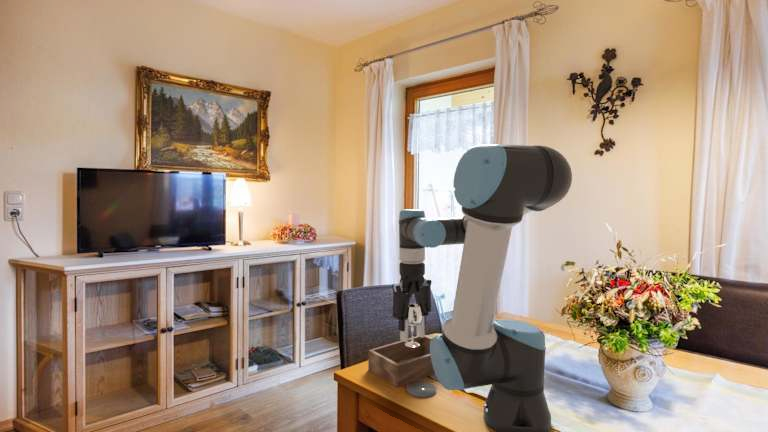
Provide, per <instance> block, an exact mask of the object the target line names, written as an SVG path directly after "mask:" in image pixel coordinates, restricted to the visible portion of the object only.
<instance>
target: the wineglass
mask: <svg viewBox="0 0 768 432" xmlns="http://www.w3.org/2000/svg"><path fill="white" fill-rule="evenodd" d="M406 320H408V327H410V332H411V338H412V340H411V342H407V343H405V346H407V347H418V346H420V344H419V343H417V342H414V341H413V337H414V331H415V327H417V325H419V324H420V323H421V321H422V311H421V307H420V304H417V303H416V302H409V306H408V311H407V315H406Z"/></svg>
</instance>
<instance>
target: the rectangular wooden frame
mask: <svg viewBox="0 0 768 432" xmlns="http://www.w3.org/2000/svg"><path fill="white" fill-rule="evenodd" d="M432 338H433V337H431V336H428V335H426V334H424V338H422V337H419V336H417V335H416V336H413V341H414V342H417V343H419V344H420V346H418V347H407V346H405V343H407V342H404V341H401V340H399V341H395V342H392V343H389V344H385V345H381V346H378V347H375V348H371V349H369V350H368V349H367V350H368V353H367V355H368V365H367V366H368V371H370V372H372V373H373V374H375V375H376V376H378V377H380V378H382V379H383V380H384V381H387V382H388V383H390V384H391V385H393V386H395V387H397V388H400V387H403V386H407V385H408V384H410V383H412V382H416V381H420V380H423V379H424V378H427V377H429V376H432V375H436V374H435V371H434V369H433V365H432V361H431V356H430V342H431V339H432ZM411 340H412V337H408V342H411ZM420 355H422V356H420ZM416 356H419V357H416ZM413 357H415V358H413ZM411 358H413V359H411ZM408 359H409V360H408ZM405 360H407V361H405ZM401 361H403V362H401ZM398 362H401V363H398Z"/></svg>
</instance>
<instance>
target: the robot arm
mask: <svg viewBox="0 0 768 432" xmlns="http://www.w3.org/2000/svg"><path fill="white" fill-rule="evenodd" d="M572 182H573V172H572V168H571V166H570V163H569V162H568V160H567V159H566V157H565V156H564V155H563V154H562V153H560V152H559V151H558V150H556V149H554V148H553V147H549V146H546V145H545V146H544V145H521V144H520V145H518V144H502V143H501V144H500V143H490V144H478V145H474V146H472V147H470V148H468V150H466V152H464V153H463V154H462V155H461V157H460V158H459V160H458V163H457V165H456V168H455V172H454V176H453V188H454V191H453V193H454V197H455V200H456V201H457V203H458V204H459V205H460V206H461V212H462V214H463V215H464V216H457V217H455V216H453V217H451V216H450V217H429V218H428V217H426V215H425V210H424V209H418V208H417V209H416V208H415V209H414V208H413V209H411V208H409V209H408V208H407V209H406V208H405V209H401V210H400V211H399V216H398V217H399V218H398V234H399V235H398V238H399V239H398V240H399V242H398V244H399V247H398V249H399V261H400V262H399V263H398V264H399V268H398V269H399V275H400V279H399V282H398V283H397V284H392V286H391V289H392V292H393V296H392V318H393V319H396V320H397V321H398V331H400V332H399V334H400V335H399V336H400V337H399V341H404V342H408V338H409V326H408V320H406V315H407V311H408V306H409V303H410V301H411V298H412V296H413V295H414V299H415V303H417V304H420V307H421V311H422V321H421V323H420V324H419V325H417V326H416V336H419V337H422V338H424V335H425V326H426V323H427V321H426V320H427V319H426V317H428V316H429V315H430V313H431V312H432V297H431V285H432V279H427V278H424V276H425V274H426V263H425V260H426V248H429V249H431V248H437V247H439V246H451V245H463V246H462V253H461V260H460V266H459V273H458V276H457V277H458V279H457V285H456V290H455V297H454V304H453V310H452V315H451V317H450V318H448V319H447V320H446V321H445V322H444V324H443V327H442V333H441V335H439V334H437V335H435V336H433V337H431V338H432V339H431V342H430V356H431V361H432V365H433V369H434V371H435V374H434V375H435V376H436V378H437V380H438V382H439V383H440V385H441V386H442V387H443V388H444V389H445V390H448V391H457V390H460V391H463V390H466V389H467V390H469V389H472V388H478V387H485V386H490V388H489V391H488V394H487V396H486V399H485V403H484V405H483V419H484V422H485V423H486V424H487V425H488V427H489V428H491V429H492V430H494V431H496V432H550V430H551V427H552V415H551V412H550V409H549V405H548V401H547V399H546V395H545V388H544V387H545V362H546V351H547V348H546V338H545V337H546V336H545V333H544V332H543V331H542V329H541V328H539V327H538V326H536V325H533V324H531V323H528V322H525V321H520V320H516V319H509V318H498V319H495V313H496V308H497V304H498V298H499V293H500V289H501V285H502V284H501V283H502V279H503V275H504V274H503V273H504V269H505V264H506V259H507V255H508V249H509V243H510V241H511V240H510V238H511V235H512V230H513V227H515V226H516V225H518V224H520V223H521V222H522V221H523V217H524V216H525V215H527V214H529V213H530V212H542V211H544V210H547V209H548V208H551V207H553V206H554V205H556V204H558V203H559V202H560V201H562V200H563V199H564V198H565V197H566V196H567V194H568V192H569V191H570V189H571V186H572ZM494 319H495V320H494Z"/></svg>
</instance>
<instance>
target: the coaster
mask: <svg viewBox="0 0 768 432" xmlns="http://www.w3.org/2000/svg"><path fill="white" fill-rule="evenodd" d="M405 391H406V393H407V394H409V396H412V397H416V398H430V397H432V396H435V395H436V392H437V386H436V385H434V384H433V383H431V382H428V381H425V380H424V381H423V380H421V381H420V380H417V381H414V382H411V383H409V384H406V389H405Z"/></svg>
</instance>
